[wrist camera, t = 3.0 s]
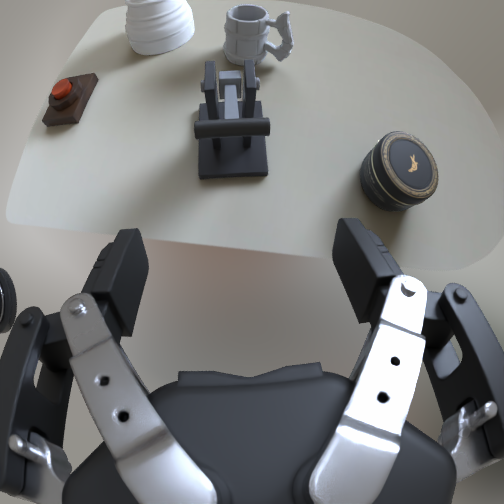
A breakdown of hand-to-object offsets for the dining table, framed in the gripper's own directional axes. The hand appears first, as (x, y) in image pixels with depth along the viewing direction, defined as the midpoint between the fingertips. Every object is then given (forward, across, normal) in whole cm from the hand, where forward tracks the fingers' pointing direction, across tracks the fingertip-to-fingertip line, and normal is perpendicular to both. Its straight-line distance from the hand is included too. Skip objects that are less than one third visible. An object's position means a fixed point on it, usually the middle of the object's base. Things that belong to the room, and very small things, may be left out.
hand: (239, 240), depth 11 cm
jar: (+25, -22, +9) cm, 35 cm away
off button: (+37, +29, -8) cm, 48 cm away
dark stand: (+30, 0, +4) cm, 30 cm away
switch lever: (+17, 0, -2) cm, 18 cm away
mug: (+43, -5, -9) cm, 44 cm away
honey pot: (+50, +13, -16) cm, 54 cm away
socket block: (+39, +29, -6) cm, 49 cm away
